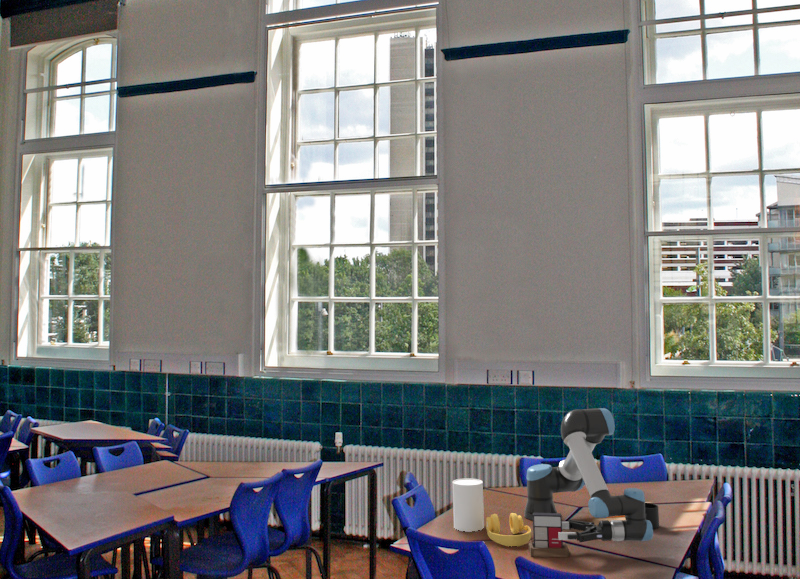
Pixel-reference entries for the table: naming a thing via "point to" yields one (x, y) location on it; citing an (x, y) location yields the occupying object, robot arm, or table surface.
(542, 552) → the slot stand
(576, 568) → the table surface
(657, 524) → the mug
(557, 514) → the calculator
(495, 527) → the headset
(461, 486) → the canister
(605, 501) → the robot arm
